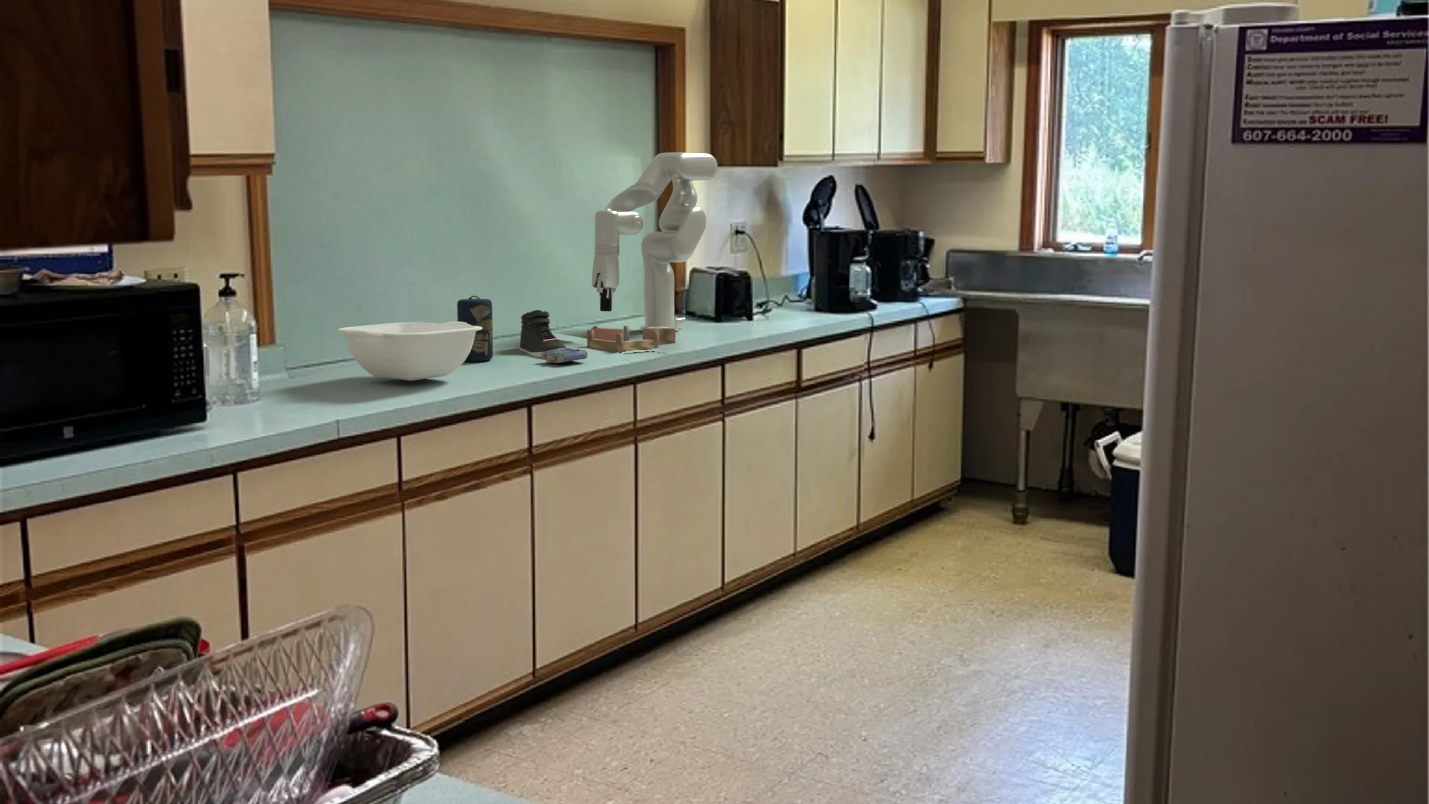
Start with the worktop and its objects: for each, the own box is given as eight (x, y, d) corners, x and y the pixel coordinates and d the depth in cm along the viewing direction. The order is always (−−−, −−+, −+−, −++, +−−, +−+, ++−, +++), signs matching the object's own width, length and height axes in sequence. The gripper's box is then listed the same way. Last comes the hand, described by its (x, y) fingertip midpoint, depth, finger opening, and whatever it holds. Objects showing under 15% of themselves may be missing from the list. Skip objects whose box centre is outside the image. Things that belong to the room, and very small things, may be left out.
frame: (626, 347, 416) (626, 327, 415) (659, 351, 405) (659, 330, 404) (586, 350, 406) (585, 330, 405) (618, 354, 395) (618, 333, 394)
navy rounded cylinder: (464, 363, 371) (462, 297, 369) (453, 360, 380) (452, 294, 377) (498, 361, 376) (496, 296, 373) (487, 358, 384) (485, 294, 382)
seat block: (660, 346, 420) (660, 326, 419) (675, 348, 415) (675, 327, 414) (642, 348, 415) (642, 327, 414) (657, 349, 410) (657, 328, 409)
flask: (588, 350, 374) (558, 355, 366) (588, 360, 375) (558, 366, 367) (565, 346, 380) (535, 352, 373) (565, 357, 381) (536, 362, 373)
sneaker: (546, 361, 379) (546, 314, 377) (507, 352, 401) (507, 308, 399) (578, 359, 384) (577, 313, 382) (537, 351, 406) (537, 307, 404)
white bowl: (422, 366, 365) (421, 318, 363) (501, 374, 349) (500, 324, 347) (319, 379, 337) (317, 327, 335) (400, 388, 321) (398, 334, 319)
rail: (629, 346, 415) (629, 325, 414) (627, 347, 414) (627, 326, 413) (593, 345, 420) (593, 324, 419) (590, 345, 419) (590, 324, 418)
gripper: (607, 250, 428) (605, 309, 430) (584, 250, 414) (583, 311, 416) (628, 251, 425) (627, 310, 427) (606, 251, 411) (605, 312, 413)
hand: (605, 311), depth 421 cm, fingers closed
